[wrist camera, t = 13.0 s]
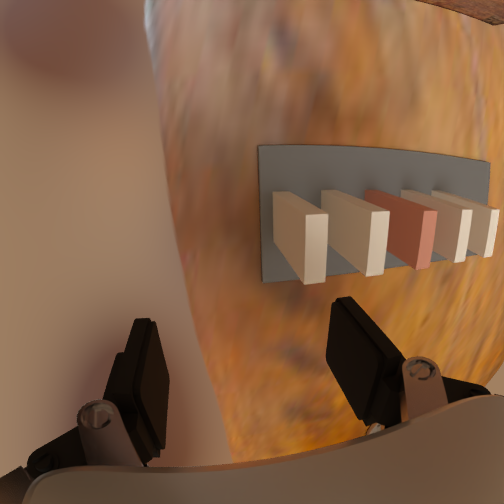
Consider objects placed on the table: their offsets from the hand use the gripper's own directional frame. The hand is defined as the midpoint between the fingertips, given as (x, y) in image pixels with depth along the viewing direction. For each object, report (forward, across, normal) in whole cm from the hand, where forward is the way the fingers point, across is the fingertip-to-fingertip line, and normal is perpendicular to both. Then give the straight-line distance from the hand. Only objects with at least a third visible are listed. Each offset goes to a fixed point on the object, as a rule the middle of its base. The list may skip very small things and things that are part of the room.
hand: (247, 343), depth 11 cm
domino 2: (+19, -11, 0) cm, 22 cm away
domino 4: (+19, -21, 0) cm, 28 cm away
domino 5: (+19, -26, 0) cm, 32 cm away
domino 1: (+19, -6, 0) cm, 20 cm away
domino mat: (+20, -21, 0) cm, 29 cm away
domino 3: (+19, -16, 0) cm, 25 cm away
